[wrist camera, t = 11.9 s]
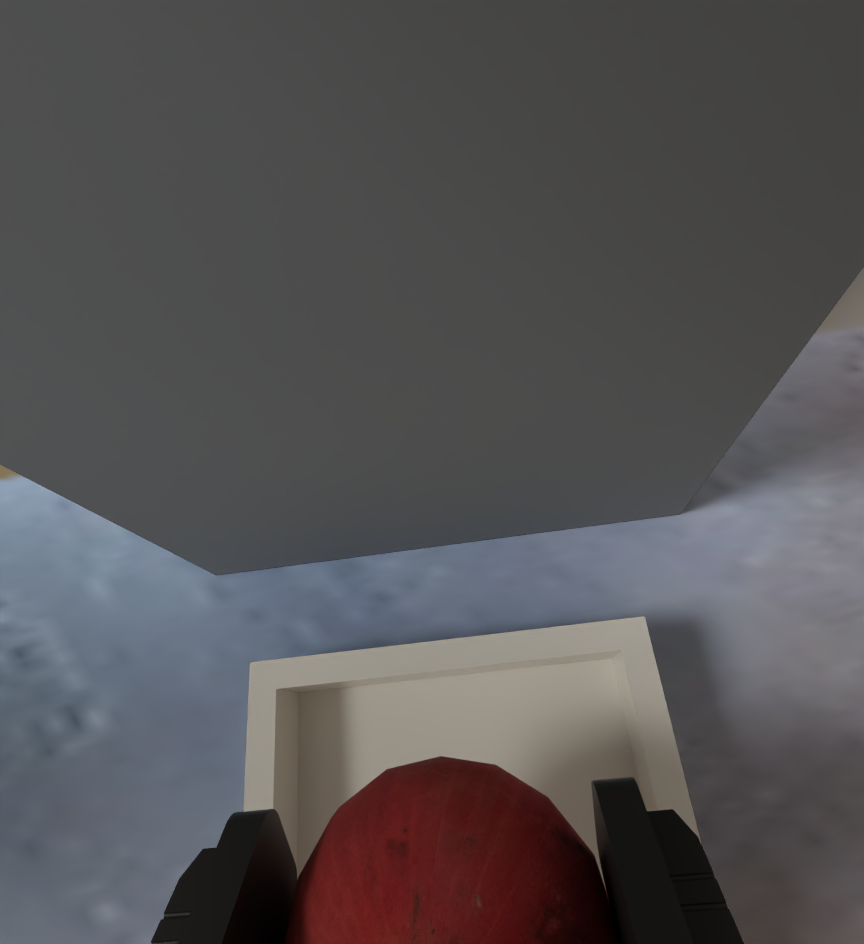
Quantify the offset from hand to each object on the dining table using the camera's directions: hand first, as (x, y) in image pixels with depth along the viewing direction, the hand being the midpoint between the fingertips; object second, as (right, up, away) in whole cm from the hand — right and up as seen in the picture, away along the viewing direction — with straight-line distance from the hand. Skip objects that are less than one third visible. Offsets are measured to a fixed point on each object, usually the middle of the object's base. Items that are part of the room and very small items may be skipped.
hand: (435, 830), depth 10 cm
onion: (+1, -3, +3) cm, 5 cm away
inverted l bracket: (+1, 0, +7) cm, 7 cm away
